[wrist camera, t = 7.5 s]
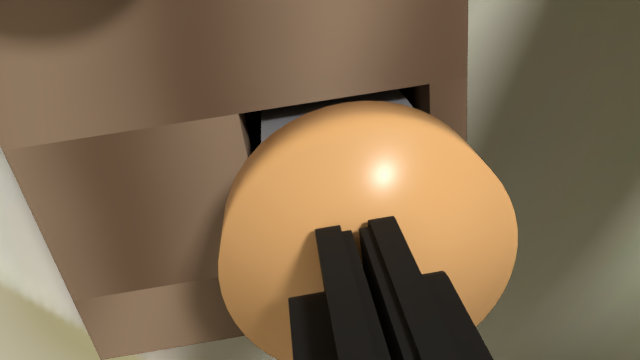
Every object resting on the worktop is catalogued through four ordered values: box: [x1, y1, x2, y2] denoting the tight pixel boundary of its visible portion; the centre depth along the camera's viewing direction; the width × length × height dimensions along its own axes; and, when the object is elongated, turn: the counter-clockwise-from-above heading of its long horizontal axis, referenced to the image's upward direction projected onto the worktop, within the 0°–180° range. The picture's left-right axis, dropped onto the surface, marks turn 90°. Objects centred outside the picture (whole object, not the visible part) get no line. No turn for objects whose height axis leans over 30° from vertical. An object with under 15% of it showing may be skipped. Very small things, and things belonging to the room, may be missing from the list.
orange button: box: [218, 89, 518, 360], centre depth 14 cm, size 6×6×7 cm
